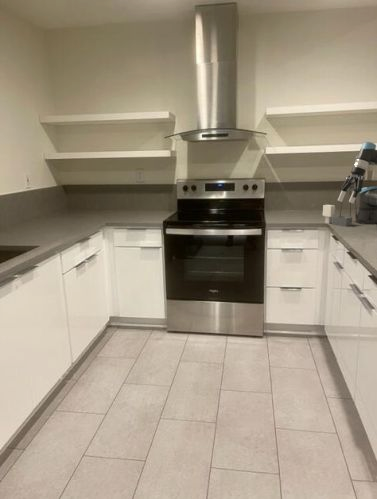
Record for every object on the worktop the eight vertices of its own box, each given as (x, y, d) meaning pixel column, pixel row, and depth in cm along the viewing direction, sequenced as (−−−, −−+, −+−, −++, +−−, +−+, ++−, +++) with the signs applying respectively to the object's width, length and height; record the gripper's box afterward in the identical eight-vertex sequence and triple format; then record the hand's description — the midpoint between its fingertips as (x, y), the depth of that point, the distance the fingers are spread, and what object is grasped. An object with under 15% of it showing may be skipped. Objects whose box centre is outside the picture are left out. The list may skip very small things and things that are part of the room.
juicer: (356, 221, 253) (357, 175, 247) (338, 221, 259) (339, 176, 253) (358, 219, 262) (360, 175, 255) (341, 219, 267) (342, 175, 261)
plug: (326, 222, 257) (327, 204, 255) (334, 223, 253) (335, 205, 250) (322, 222, 255) (323, 205, 252) (330, 223, 250) (331, 206, 247)
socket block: (337, 223, 251) (338, 215, 250) (351, 225, 243) (352, 217, 242) (332, 224, 248) (332, 216, 247) (345, 226, 240) (346, 218, 239)
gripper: (343, 166, 238) (330, 198, 241) (365, 165, 214) (350, 201, 217) (354, 170, 239) (340, 202, 242) (377, 170, 215) (361, 205, 218)
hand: (345, 202), depth 230 cm, fingers open, 13 cm apart
